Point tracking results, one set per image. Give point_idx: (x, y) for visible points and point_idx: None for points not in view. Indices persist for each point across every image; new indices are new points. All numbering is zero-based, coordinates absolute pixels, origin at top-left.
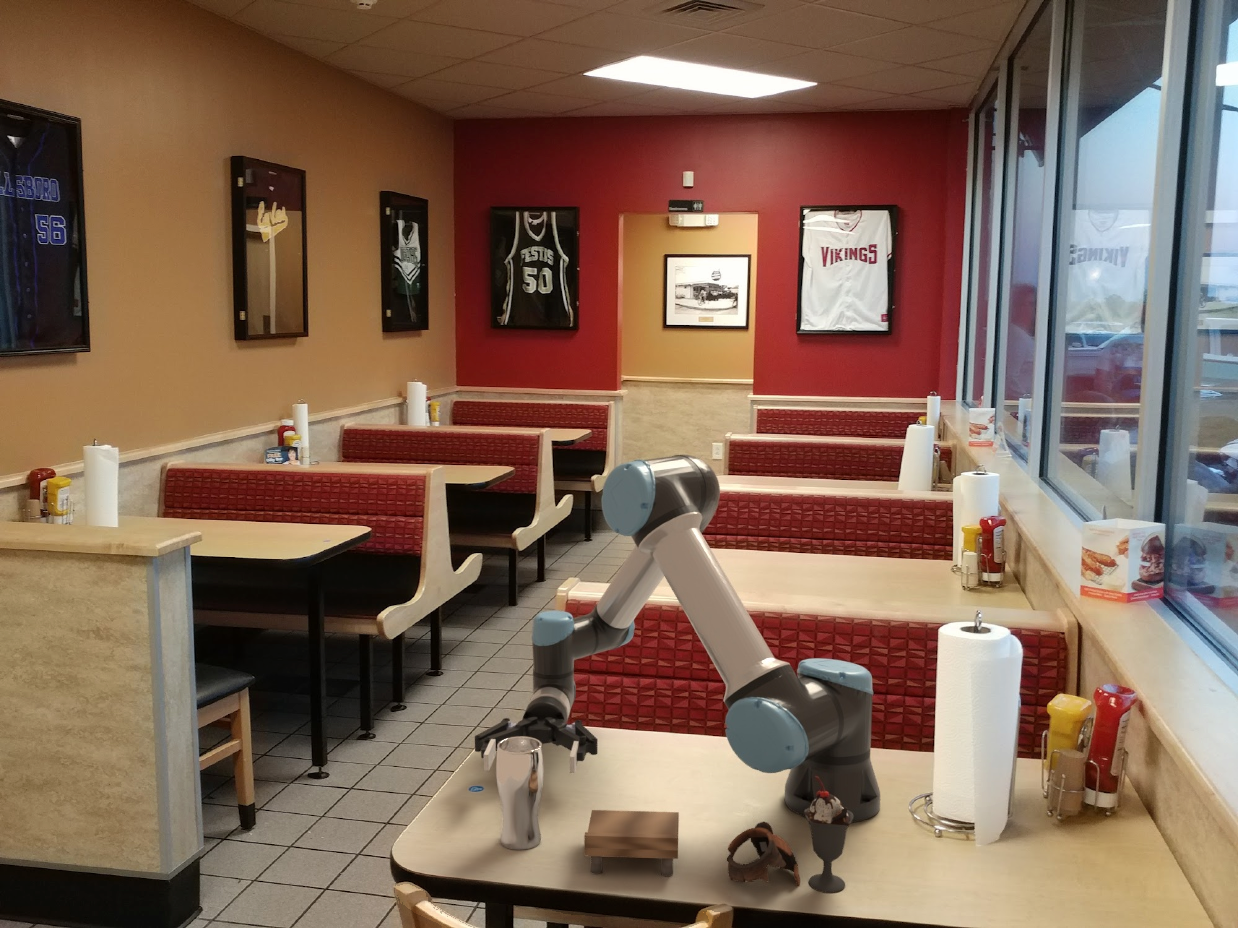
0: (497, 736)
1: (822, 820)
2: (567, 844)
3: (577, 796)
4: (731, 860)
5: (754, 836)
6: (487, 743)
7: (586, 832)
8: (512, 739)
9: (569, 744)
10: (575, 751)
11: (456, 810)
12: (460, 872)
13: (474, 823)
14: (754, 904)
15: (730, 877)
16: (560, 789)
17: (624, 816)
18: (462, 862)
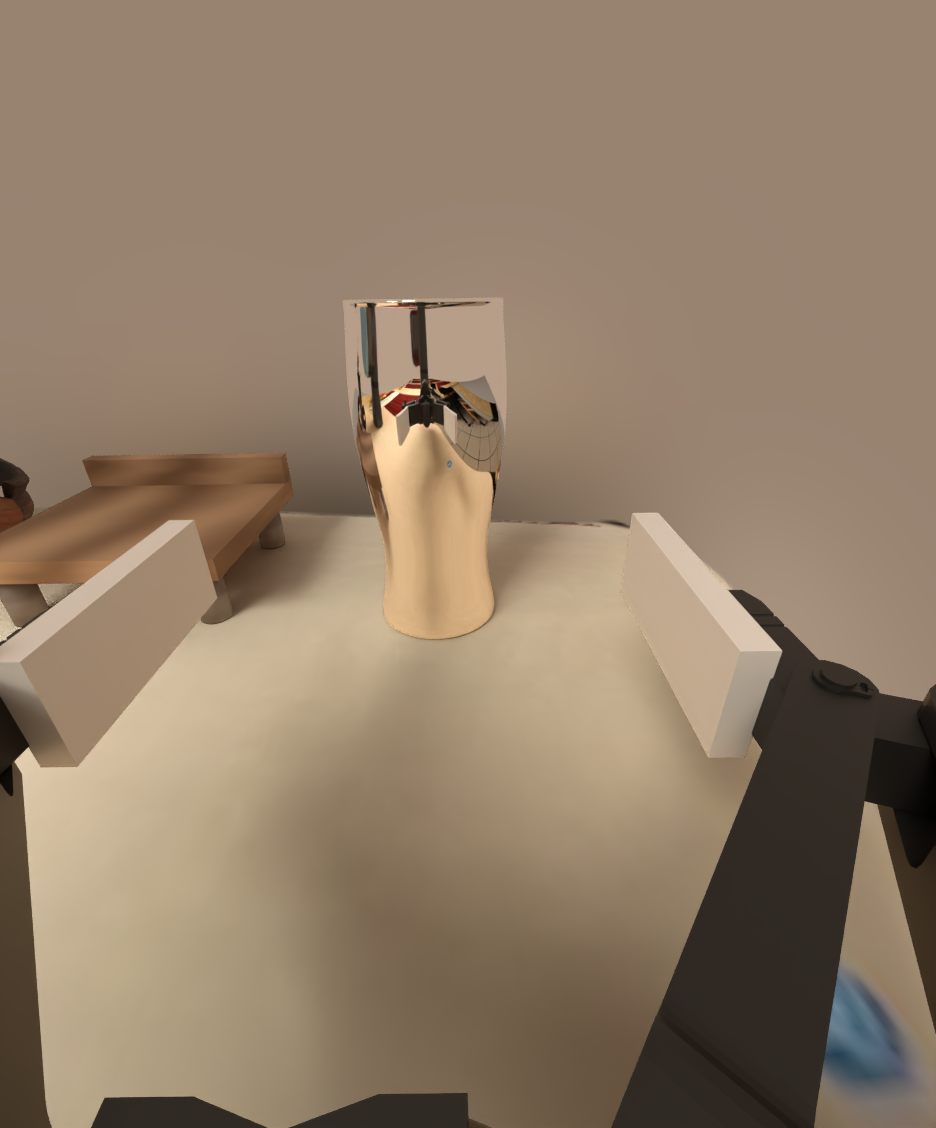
0: (781, 720)
1: None
2: (314, 602)
3: (157, 933)
4: (19, 478)
5: None
6: (788, 665)
7: (277, 457)
8: (459, 308)
9: (5, 851)
10: (128, 552)
11: None
12: (541, 531)
13: (608, 667)
14: (44, 508)
15: (31, 515)
16: (233, 1056)
17: (131, 543)
18: (552, 548)
